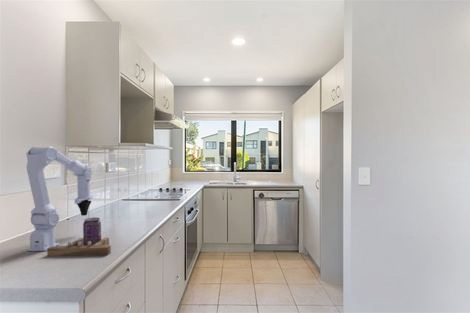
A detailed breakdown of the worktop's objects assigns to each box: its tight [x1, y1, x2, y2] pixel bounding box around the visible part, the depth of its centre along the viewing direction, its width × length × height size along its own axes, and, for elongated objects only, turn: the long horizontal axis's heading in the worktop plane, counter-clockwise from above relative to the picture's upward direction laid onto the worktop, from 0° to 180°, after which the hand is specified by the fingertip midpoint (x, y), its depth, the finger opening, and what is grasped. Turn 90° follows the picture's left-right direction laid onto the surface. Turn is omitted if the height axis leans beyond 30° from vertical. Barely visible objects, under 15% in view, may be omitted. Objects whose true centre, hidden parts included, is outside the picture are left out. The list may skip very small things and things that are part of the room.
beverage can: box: [82, 217, 102, 246], centre depth 129 cm, size 7×7×12 cm
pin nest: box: [46, 237, 112, 257], centre depth 124 cm, size 14×24×5 cm, turn 91°
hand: (84, 215), depth 150 cm, fingers closed
